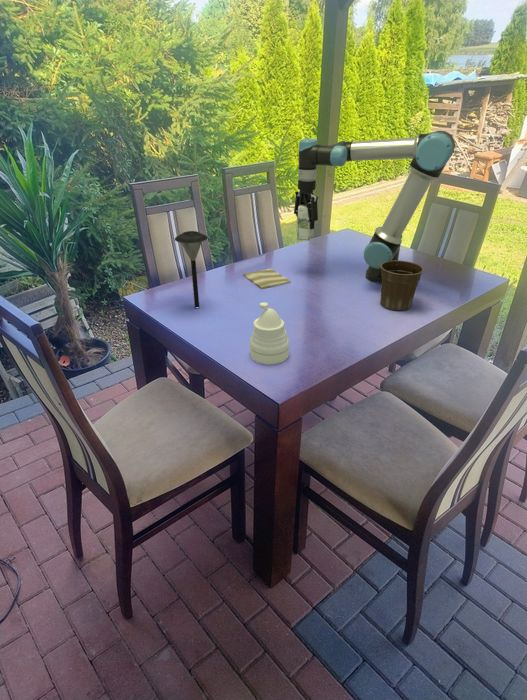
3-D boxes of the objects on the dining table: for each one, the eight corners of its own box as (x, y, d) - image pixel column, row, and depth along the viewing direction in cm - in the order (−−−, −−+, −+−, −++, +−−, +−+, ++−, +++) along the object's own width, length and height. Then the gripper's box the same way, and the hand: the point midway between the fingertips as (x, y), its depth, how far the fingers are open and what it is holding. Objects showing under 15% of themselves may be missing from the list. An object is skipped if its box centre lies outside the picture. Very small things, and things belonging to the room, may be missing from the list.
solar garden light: (205, 316, 172) (199, 239, 156) (176, 312, 175) (167, 236, 159) (217, 303, 182) (212, 230, 166) (189, 299, 185) (183, 227, 169)
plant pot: (384, 293, 190) (390, 257, 182) (421, 302, 182) (429, 265, 174) (368, 306, 179) (373, 268, 171) (407, 317, 171) (415, 277, 163)
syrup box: (312, 237, 200) (314, 204, 193) (309, 241, 196) (310, 207, 188) (300, 236, 202) (301, 203, 195) (296, 239, 197) (297, 206, 190)
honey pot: (244, 360, 144) (242, 310, 135) (258, 341, 155) (258, 294, 145) (281, 367, 140) (282, 317, 131) (293, 348, 151) (295, 300, 142)
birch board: (290, 282, 200) (290, 280, 200) (261, 289, 194) (261, 287, 194) (270, 270, 214) (270, 268, 213) (243, 275, 208) (243, 273, 207)
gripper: (286, 176, 192) (285, 229, 204) (313, 184, 177) (311, 240, 188) (301, 175, 195) (299, 227, 207) (328, 182, 180) (325, 238, 191)
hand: (304, 233), depth 198 cm, fingers closed on syrup box, 8 cm apart
